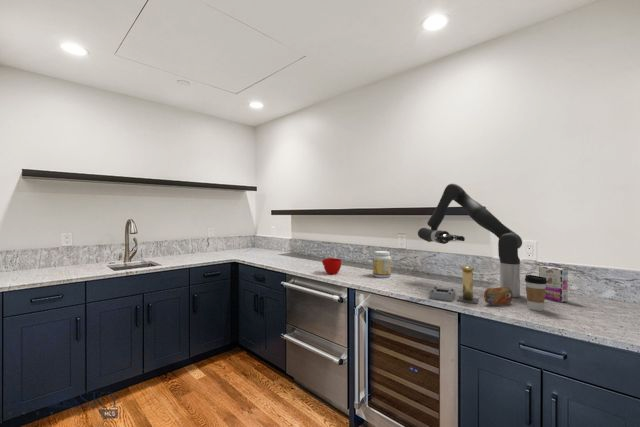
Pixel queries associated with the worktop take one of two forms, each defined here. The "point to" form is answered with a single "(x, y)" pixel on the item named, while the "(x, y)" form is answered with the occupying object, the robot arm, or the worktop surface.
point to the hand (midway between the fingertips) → (456, 239)
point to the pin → (467, 282)
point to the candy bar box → (555, 283)
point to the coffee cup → (535, 292)
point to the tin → (498, 296)
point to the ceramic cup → (332, 265)
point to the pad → (474, 301)
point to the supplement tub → (382, 264)
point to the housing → (442, 294)
